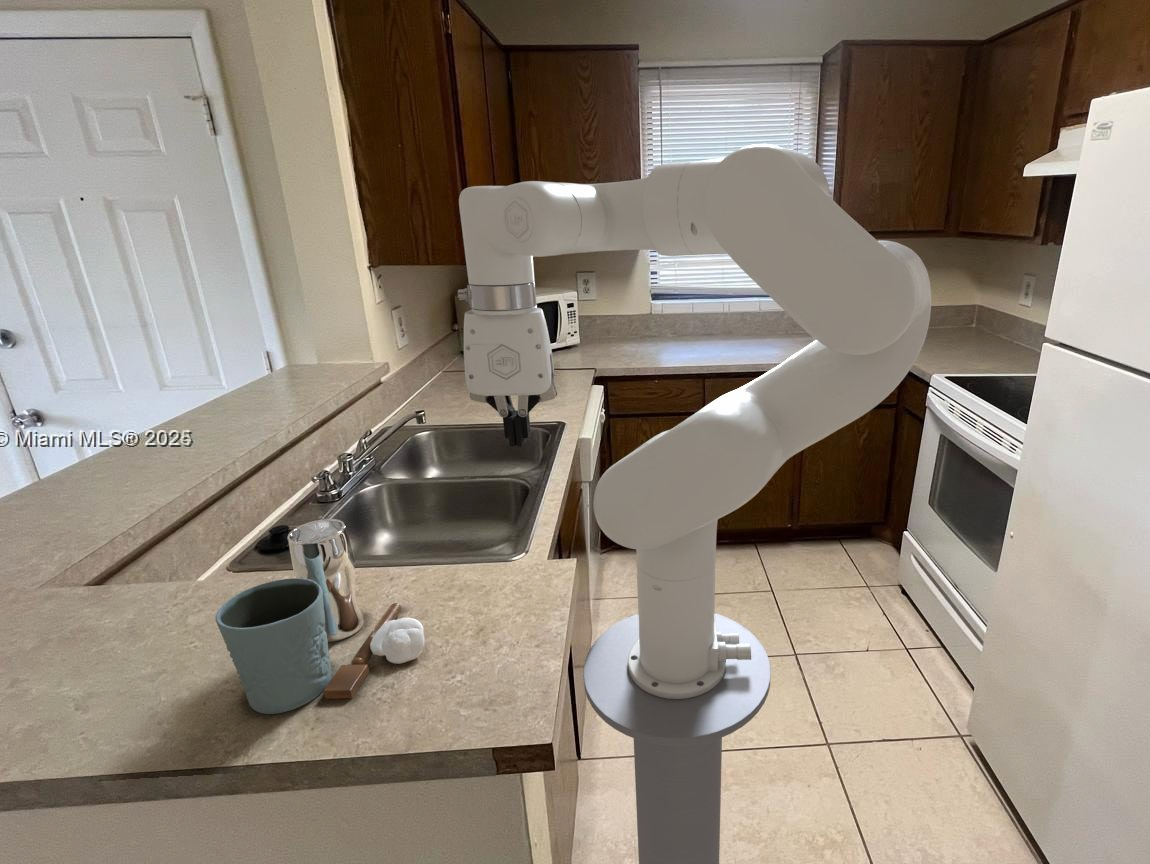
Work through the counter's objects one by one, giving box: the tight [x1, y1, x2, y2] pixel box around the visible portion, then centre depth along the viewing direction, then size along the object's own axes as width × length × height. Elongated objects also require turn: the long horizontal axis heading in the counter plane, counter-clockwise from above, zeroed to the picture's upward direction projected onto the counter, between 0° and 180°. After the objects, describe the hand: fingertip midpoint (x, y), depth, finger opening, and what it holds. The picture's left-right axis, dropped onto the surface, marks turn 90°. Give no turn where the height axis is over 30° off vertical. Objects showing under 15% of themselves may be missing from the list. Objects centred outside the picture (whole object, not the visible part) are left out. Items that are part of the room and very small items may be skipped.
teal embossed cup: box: [215, 577, 332, 715], centre depth 71 cm, size 10×10×12 cm
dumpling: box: [370, 617, 425, 665], centre depth 78 cm, size 7×5×4 cm
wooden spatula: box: [322, 602, 402, 700], centre depth 79 cm, size 17×3×2 cm, turn 1°
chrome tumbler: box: [287, 518, 365, 643], centre depth 81 cm, size 7×7×15 cm
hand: (518, 443), depth 79 cm, fingers closed
